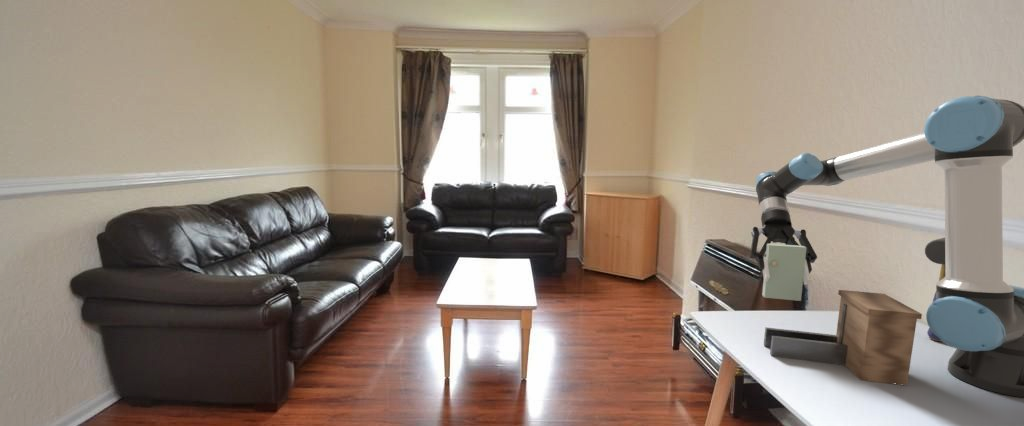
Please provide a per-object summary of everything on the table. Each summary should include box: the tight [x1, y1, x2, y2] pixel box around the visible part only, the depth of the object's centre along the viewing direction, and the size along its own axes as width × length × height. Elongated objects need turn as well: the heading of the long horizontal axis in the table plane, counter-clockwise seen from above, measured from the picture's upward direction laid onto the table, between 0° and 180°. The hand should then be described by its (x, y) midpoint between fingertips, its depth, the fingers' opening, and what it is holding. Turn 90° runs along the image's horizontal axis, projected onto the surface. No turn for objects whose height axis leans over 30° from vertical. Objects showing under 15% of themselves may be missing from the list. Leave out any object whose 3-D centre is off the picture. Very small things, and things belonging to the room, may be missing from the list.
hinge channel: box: [763, 327, 848, 366], centre depth 114 cm, size 16×7×5 cm, turn 75°
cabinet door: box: [761, 243, 806, 302], centre depth 122 cm, size 9×3×15 cm, turn 74°
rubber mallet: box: [924, 237, 946, 342], centre depth 124 cm, size 12×8×30 cm, turn 115°
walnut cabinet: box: [835, 289, 923, 386], centre depth 106 cm, size 10×15×17 cm, turn 165°
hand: (786, 280), depth 120 cm, fingers closed on cabinet door, 9 cm apart
